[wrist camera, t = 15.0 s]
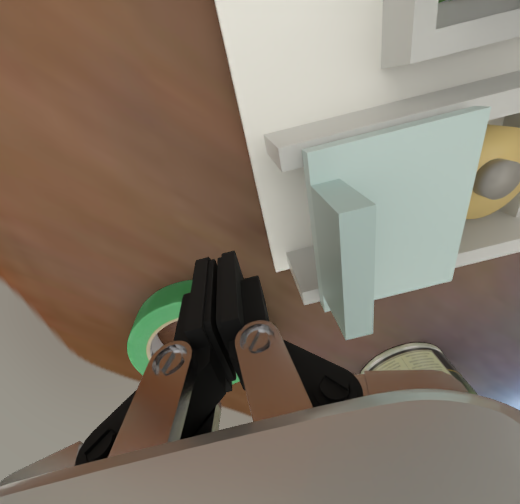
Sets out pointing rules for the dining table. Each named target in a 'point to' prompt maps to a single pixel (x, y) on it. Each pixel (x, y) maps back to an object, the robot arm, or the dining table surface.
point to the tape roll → (155, 323)
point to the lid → (390, 210)
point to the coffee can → (415, 361)
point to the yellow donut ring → (496, 171)
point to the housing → (363, 95)
